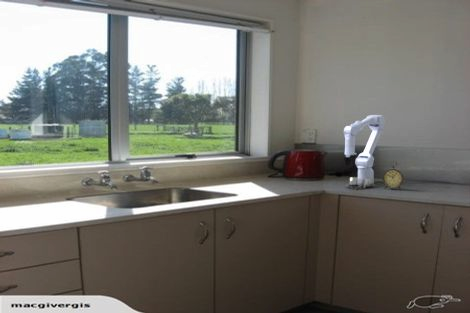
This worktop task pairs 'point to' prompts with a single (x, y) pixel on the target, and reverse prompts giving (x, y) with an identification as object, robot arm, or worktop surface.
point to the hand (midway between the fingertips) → (349, 168)
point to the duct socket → (362, 183)
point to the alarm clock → (393, 177)
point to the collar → (353, 181)
